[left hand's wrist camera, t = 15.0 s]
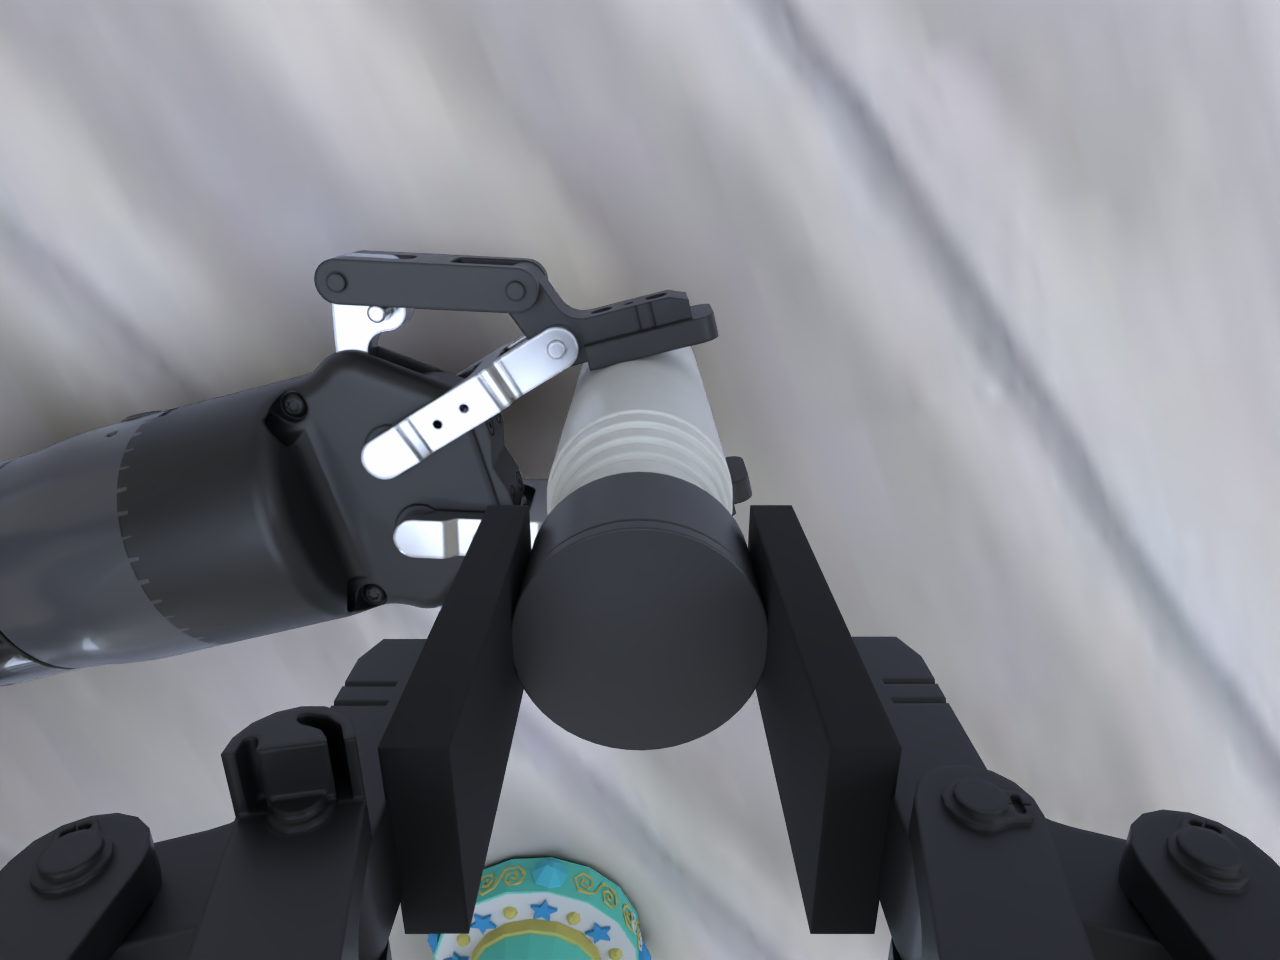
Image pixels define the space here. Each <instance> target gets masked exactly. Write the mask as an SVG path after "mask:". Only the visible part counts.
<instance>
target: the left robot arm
mask: <svg viewBox="0 0 1280 960" xmlns="http://www.w3.org/2000/svg"><path fill="white" fill-rule="evenodd" d="M531 550H532V548H531V530H530V512H529V505H488V506H487V509H486V511H485V513H484V515H483V517H482V520H481V522H480V524H479V526H478V528H477V531H476V533H475V535H474V537H473V539H472V542H471V544H470V546H469V548H468V550H467V552H466V555H465V557H464V559H463V561H462V563H461V566H460V568H459V570H458V572H457V574H456V577H455V579H454V581H453V583H452V585H451V588H450V590H449V592H448V594H447V596H446V599H445V601H444V603H443V605H442V607H441V610H440V612H439V614H438V616H437V618H436V621H435V623H434V625H433V627H432V629H431V632H430V634H429V636H428V638H427V639H383V640H382V641H381V642H379V643H378V644H377V645H376V646H374V647H373V648H372V649H371V650H369V651H368V652H367V653H365V654H364V655H363V656H362V657H360V658H359V659H358V661H357V662H356V664H355V666H354V668H353V669H352V671H351V673H350V674H349V676H348V678H347V680H346V681H345V687H342V688H341V690H340V692H339V694H338V695H337V697H336V699H335V700H334V706H331V707H330V708H328V707H325V706H304V707H297V708H293V709H288V710H284V711H280V712H276V713H273V714H271V715H269V716H267V717H265V718H262V719H260V720H258V721H256V722H254V723H252V724H250V725H249V726H248V727H246V728H245V729H244V730H242V731H241V732H240V733H238V734H237V735H236V736H234V737H233V738H232V740H231V741H230V742H229V744H228V745H227V747H226V748H225V749H224V751H223V752H222V754H221V757H222V762H223V766H224V770H225V774H226V778H227V782H228V787H229V791H230V795H231V799H232V803H233V808H234V812H235V816H236V818H235V821H234V822H232V823H230V824H227V825H223V826H220V827H217V828H214V829H211V830H207V831H203V832H199V833H195V834H190V835H186V836H182V837H178V838H174V839H169V840H165V841H161V842H157V843H153V839H152V836H151V833H150V829H149V827H148V826H146V825H145V824H144V823H143V822H142V821H141V820H140V819H139V818H138V817H135V816H130V815H125V814H120V813H113V814H104V815H95V816H90V817H87V818H84V819H81V820H78V821H75V822H72V823H69V824H66V825H63V826H61V827H59V828H57V829H55V830H53V831H52V832H50V833H48V834H46V835H44V836H43V837H41V838H39V839H37V840H35V841H34V842H32V843H31V844H30V845H29V846H27V847H26V848H25V849H24V850H23V851H21V852H20V853H19V854H18V855H17V856H15V857H14V858H13V859H12V860H11V861H9V863H8V864H7V865H6V866H5V867H4V868H3V869H2V870H1V871H0V960H392V957H391V951H390V944H389V935H390V932H391V929H392V926H393V923H394V920H395V917H396V914H397V911H398V908H399V905H400V903H401V909H402V916H403V923H404V929H405V934H469V931H470V927H471V922H472V918H473V913H474V909H475V904H476V900H477V896H478V891H479V887H480V882H481V878H482V873H483V869H484V864H485V860H486V855H487V851H488V846H489V842H490V837H491V833H492V829H493V824H494V820H495V815H496V811H497V806H498V802H499V797H500V793H501V788H502V784H503V779H504V775H505V771H506V766H507V762H508V757H509V753H510V748H511V744H512V739H513V735H514V730H515V726H516V721H517V717H518V712H519V708H520V704H521V699H522V695H523V690H524V688H523V686H522V684H521V682H520V680H519V678H518V676H517V673H516V670H515V667H514V656H513V642H512V616H513V613H514V609H515V606H516V602H517V599H518V595H519V592H520V588H521V585H522V581H523V578H524V574H525V571H526V568H527V564H528V561H529V557H530V554H531ZM748 551H749V554H750V558H751V561H752V565H753V568H754V572H755V575H756V579H757V582H758V586H759V589H760V593H761V596H762V600H763V603H764V607H765V610H766V614H767V619H768V635H767V650H766V663H765V669H764V672H763V674H762V677H761V679H760V681H759V683H758V685H757V687H756V692H757V697H758V701H759V706H760V710H761V715H762V719H763V723H764V728H765V732H766V737H767V741H768V746H769V750H770V755H771V759H772V764H773V768H774V773H775V777H776V782H777V786H778V790H779V795H780V799H781V804H782V808H783V813H784V817H785V822H786V826H787V831H788V835H789V840H790V844H791V849H792V853H793V857H794V862H795V866H796V871H797V875H798V880H799V884H800V889H801V893H802V898H803V902H804V907H805V911H806V916H807V920H808V924H809V929H810V933H811V934H874V933H875V926H876V919H877V913H878V906H879V899H880V902H881V905H882V908H883V912H884V915H885V918H886V921H887V924H888V927H889V930H890V933H891V936H892V938H891V944H890V951H889V957H888V960H1280V867H1279V866H1278V865H1277V864H1276V863H1275V862H1274V860H1273V859H1272V858H1271V857H1269V856H1268V855H1267V854H1266V853H1264V852H1263V851H1262V850H1261V849H1260V848H1258V847H1257V846H1256V845H1255V844H1254V843H1252V842H1251V841H1250V840H1249V839H1248V838H1246V837H1244V836H1242V835H1240V834H1239V833H1237V832H1235V831H1233V830H1231V829H1230V828H1228V827H1226V826H1224V825H1222V824H1220V823H1219V822H1216V821H1213V820H1210V819H1207V818H1204V817H1201V816H1198V815H1195V814H1192V813H1188V812H1179V811H1170V810H1159V811H1154V812H1149V813H1144V814H1142V815H1141V816H1140V817H1139V818H1138V819H1137V820H1136V821H1135V822H1134V823H1132V824H1131V827H1130V830H1129V834H1128V837H1127V840H1124V839H1120V838H1115V837H1111V836H1107V835H1103V834H1099V833H1094V832H1090V831H1086V830H1082V829H1078V828H1073V827H1070V826H1067V825H1063V824H1060V823H1057V822H1054V821H1051V820H1048V819H1046V818H1045V817H1044V815H1043V813H1042V812H1041V810H1040V809H1039V807H1038V805H1037V804H1036V802H1035V800H1034V799H1033V798H1032V797H1031V796H1030V795H1029V794H1027V793H1026V792H1025V791H1024V790H1023V789H1022V788H1020V787H1019V786H1018V785H1017V784H1016V783H1014V782H1012V781H1010V780H1008V779H1006V778H1004V777H1003V776H1001V775H999V774H997V773H995V772H993V771H989V770H987V769H986V767H985V765H984V763H983V762H982V760H981V758H980V756H979V755H978V753H977V751H976V750H975V748H974V746H973V744H972V743H971V741H970V739H969V738H968V736H967V734H966V732H965V731H964V729H963V727H962V726H961V724H960V722H959V720H958V719H957V717H956V715H955V713H954V712H953V710H952V708H951V707H950V705H949V703H946V698H945V696H944V695H943V693H942V691H941V689H940V688H939V686H938V684H935V679H934V677H933V676H932V674H931V672H930V670H929V669H928V667H927V665H926V664H925V662H924V660H923V658H922V657H921V656H920V655H919V654H918V653H916V652H915V651H914V650H912V649H911V648H910V647H909V646H907V645H906V644H905V643H903V642H902V641H901V640H900V639H898V638H897V637H851V635H850V633H849V631H848V628H847V626H846V624H845V622H844V620H843V617H842V615H841V613H840V611H839V609H838V606H837V604H836V602H835V600H834V598H833V595H832V593H831V591H830V589H829V587H828V584H827V582H826V580H825V578H824V576H823V573H822V571H821V569H820V567H819V565H818V562H817V560H816V558H815V556H814V554H813V551H812V549H811V547H810V545H809V543H808V540H807V538H806V536H805V534H804V532H803V529H802V527H801V525H800V523H799V521H798V518H797V516H796V514H795V512H794V510H793V507H792V505H750V521H749V539H748Z"/></svg>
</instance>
